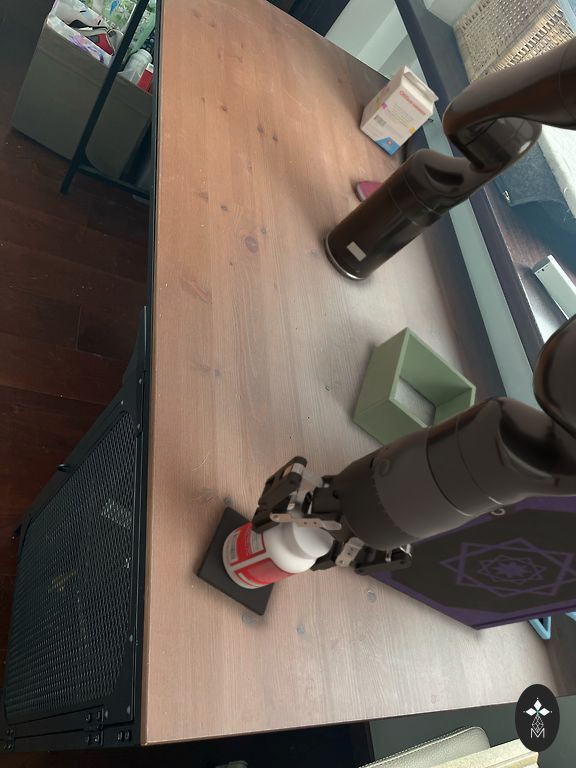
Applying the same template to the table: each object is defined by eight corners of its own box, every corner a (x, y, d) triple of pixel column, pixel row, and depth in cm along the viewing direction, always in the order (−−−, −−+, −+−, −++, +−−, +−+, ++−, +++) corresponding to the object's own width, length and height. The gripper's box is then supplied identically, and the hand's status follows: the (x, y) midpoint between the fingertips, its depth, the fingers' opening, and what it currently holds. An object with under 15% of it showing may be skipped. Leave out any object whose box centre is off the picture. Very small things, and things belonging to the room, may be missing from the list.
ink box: (393, 135, 129) (442, 86, 120) (390, 156, 124) (441, 107, 114) (363, 108, 126) (411, 56, 117) (358, 128, 120) (408, 76, 111)
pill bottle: (280, 573, 64) (350, 548, 57) (237, 600, 60) (307, 577, 52) (254, 518, 65) (320, 487, 58) (210, 541, 61) (274, 510, 53)
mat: (225, 507, 65) (228, 505, 64) (283, 546, 67) (287, 545, 66) (196, 576, 59) (199, 574, 59) (260, 616, 61) (263, 615, 61)
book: (475, 586, 83) (713, 526, 62) (476, 633, 79) (729, 587, 58) (342, 513, 74) (568, 416, 53) (335, 563, 70) (576, 478, 50)
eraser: (360, 204, 108) (367, 197, 107) (351, 184, 109) (358, 178, 108) (399, 208, 116) (406, 202, 115) (391, 189, 117) (397, 183, 116)
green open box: (373, 349, 92) (407, 326, 87) (440, 406, 96) (476, 387, 91) (352, 420, 82) (388, 399, 78) (427, 480, 86) (467, 463, 82)
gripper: (481, 498, 51) (348, 546, 63) (355, 396, 47) (238, 468, 59) (473, 579, 46) (330, 616, 58) (331, 474, 42) (208, 536, 54)
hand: (284, 541), depth 58 cm, fingers closed on pill bottle, 6 cm apart
